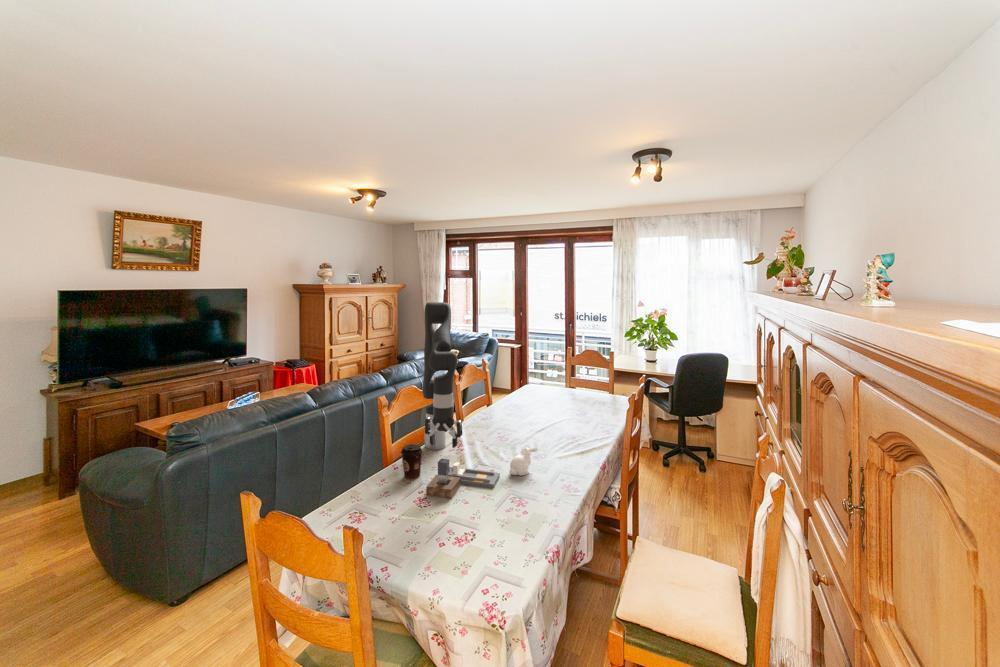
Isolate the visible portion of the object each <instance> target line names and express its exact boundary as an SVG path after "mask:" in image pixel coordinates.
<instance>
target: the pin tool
mask: <svg viewBox="0 0 1000 667" xmlns="http://www.w3.org/2000/svg"><path fill="white" fill-rule="evenodd" d="M449 467H450V459H447V458H440V459H439V461H437V475H439V484H440V485H448V484H449Z"/></svg>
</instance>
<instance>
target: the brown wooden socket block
mask: <svg viewBox="0 0 1000 667" xmlns="http://www.w3.org/2000/svg"><path fill="white" fill-rule="evenodd" d="M460 487H461V484H460V478H459V477H451V476H449V484H448V485H440V484H439V475H438V474H436V475H434V477H433V478H432V479H431V480H430V482H428V484H427V485H426V487H425V489H426V490H425V491H426V492H425V493H426V496H429V497H437V498H443V499H449V500H450V499H451V500H452V499H453V498H454V496H455V494H456V493H457V492H458V490H459V489H460Z"/></svg>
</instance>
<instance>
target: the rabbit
mask: <svg viewBox="0 0 1000 667" xmlns="http://www.w3.org/2000/svg"><path fill="white" fill-rule="evenodd" d="M537 449H538V447H537V446H536V447H526V446H524V447H523V448H522V449H521V451H520V454H519V455H515V456H514V457H512V459H511V461H510V463H509V467H510V468H509V471H508V472H509V474H511V475H512V476H519V477H522V475H523V476H526V475H529V474H528V473H530V472H529V471H528V470H529V467H530V465H531V463H532V460H531V458H532V457H531V453H537V451H538V450H537ZM525 474H526V475H525Z"/></svg>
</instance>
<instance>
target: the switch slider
mask: <svg viewBox="0 0 1000 667" xmlns="http://www.w3.org/2000/svg"><path fill="white" fill-rule="evenodd" d="M452 467H453V473H452V474H456V475H463V474H464V473H465V472H466V469H460V468H461V462H455V463H454V464H453V465H452Z"/></svg>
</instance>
